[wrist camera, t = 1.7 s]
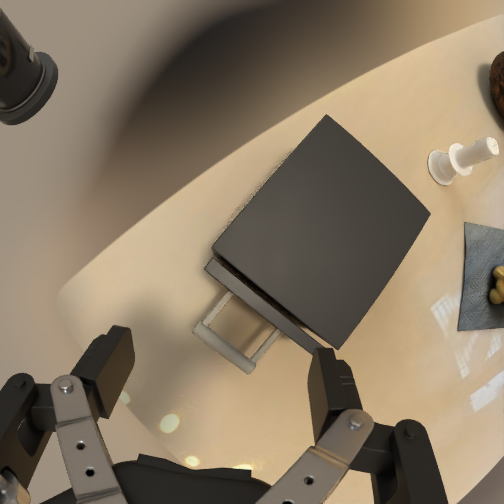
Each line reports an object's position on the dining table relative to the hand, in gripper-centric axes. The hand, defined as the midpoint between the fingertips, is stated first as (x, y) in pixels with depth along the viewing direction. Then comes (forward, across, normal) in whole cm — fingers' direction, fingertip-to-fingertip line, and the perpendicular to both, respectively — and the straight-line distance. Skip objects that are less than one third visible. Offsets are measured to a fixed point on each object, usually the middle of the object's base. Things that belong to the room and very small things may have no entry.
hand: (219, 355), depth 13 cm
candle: (+32, -27, -8) cm, 43 cm away
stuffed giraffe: (+27, -41, +7) cm, 49 cm away
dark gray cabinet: (+25, -7, +2) cm, 26 cm away
